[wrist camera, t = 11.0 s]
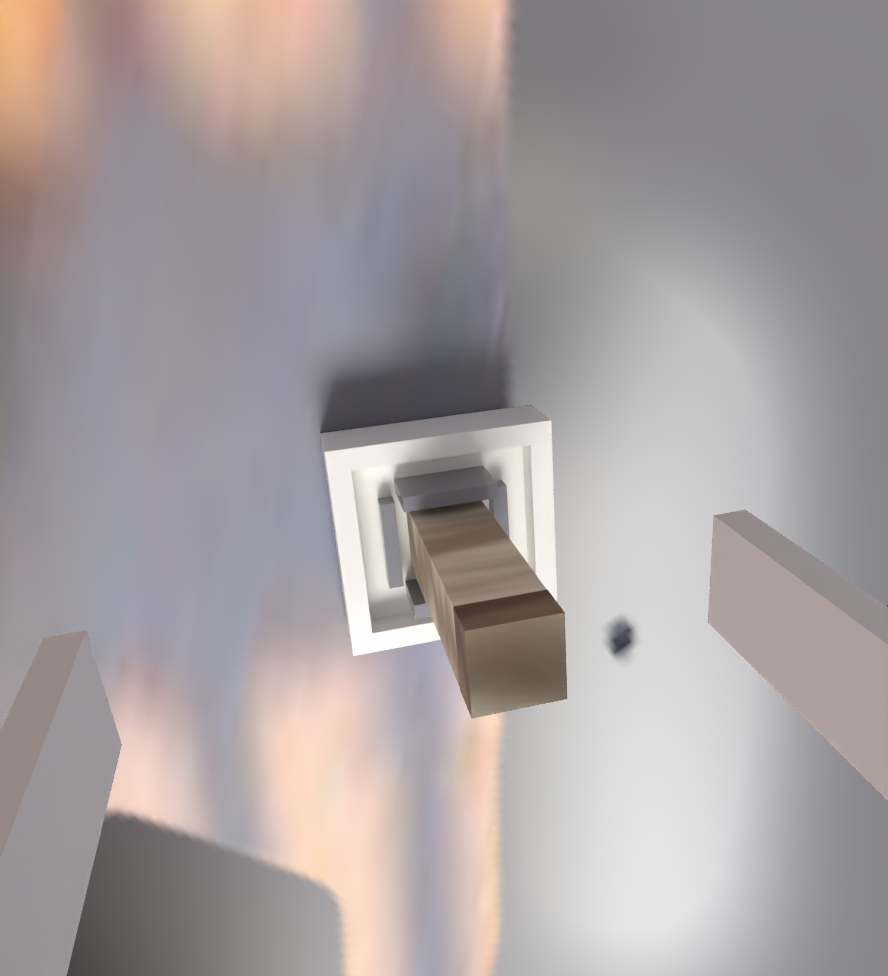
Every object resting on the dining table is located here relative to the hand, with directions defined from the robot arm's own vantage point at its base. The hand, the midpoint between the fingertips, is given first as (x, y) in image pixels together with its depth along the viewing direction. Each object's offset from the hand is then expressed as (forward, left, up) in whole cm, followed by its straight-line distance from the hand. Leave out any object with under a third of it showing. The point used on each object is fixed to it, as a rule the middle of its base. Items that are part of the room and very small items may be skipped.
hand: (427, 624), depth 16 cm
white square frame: (+9, +5, -27) cm, 29 cm away
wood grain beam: (+9, +5, -25) cm, 27 cm away
